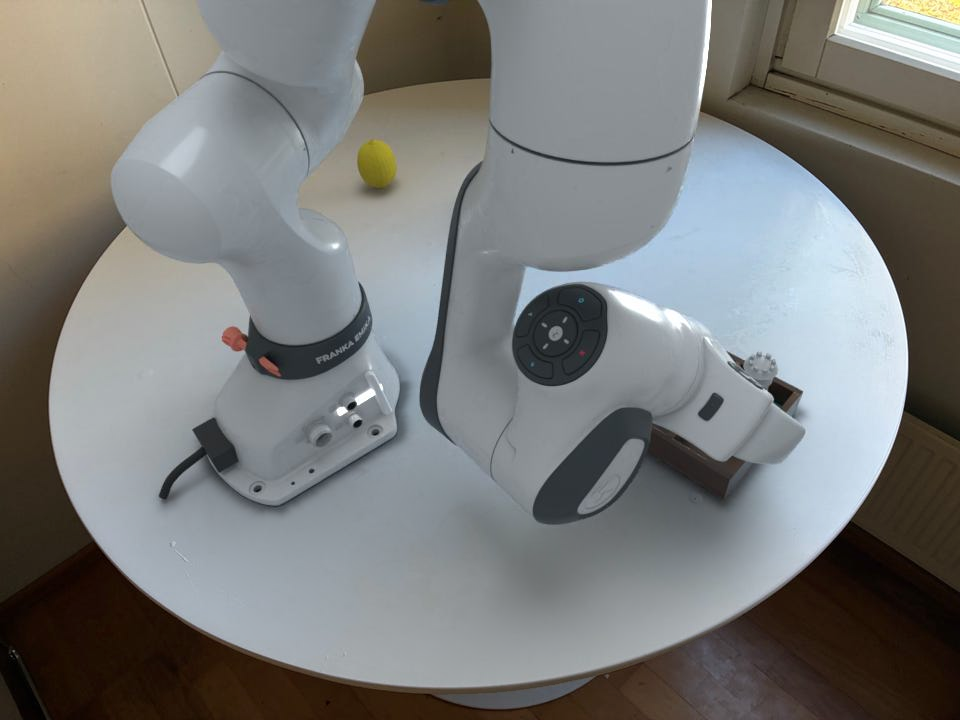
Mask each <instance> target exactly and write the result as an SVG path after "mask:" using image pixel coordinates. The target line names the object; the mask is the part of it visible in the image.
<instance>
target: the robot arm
mask: <svg viewBox="0 0 960 720" xmlns="http://www.w3.org/2000/svg"><path fill="white" fill-rule="evenodd" d="M418 1H419V2H421V3H425V4H428V5H430V6H431V5H432V6H442V5H444V4H448V3H449V2H451V1H453V0H418ZM476 1H477V3H478V4H479V6H480V7H481V10H482V11H483V14H484V17H485V19H486V22H487V26H488V30H489V37H490V54H491V55H490V57H491V61H490V63H491V64H490V65H491V66H490V81H489V99H488V100H489V102H488V127H487V138H486V145H485V152H484V155H483V159H482V160H481V161H480V162H478V163H477V164H476V165H475V166H473V167H472V169H470V171H469V172H468V174H467V175H466V177H465V178H464V180H463V181H462V183H461V185H460V187H459V190H458V192H457V195H456V198H455V202H454V206H453V209H452V213H451V218H450V223H449V231H448V237H447V243H446V250H445V259H444V265H443V275H442V281H441V282H442V283H441V289H440V290H441V291H440V296H439V297H440V298H439V306H438V312H437V313H438V314H437V321H436V329H435V334H434V339H433V343H432V346H431V349H430V352H429V355H428V357H427V359H426V363H425V365H424V368H423V371H422V375H421V379H420V385H419V397H418V399H419V408H420V411H421V414H422V416H423V419H424V420H425V421H426V422H427V424H428V425H429V426H430V427H432V428H433V429H435V430H436V431H437V432H438V433H439V434H441V435H442V436H443V437H445V438H446V439H447V440H448V441H450V442H451V443H452V444H453V445H455V446H457V447H458V448H459V450H460V451H462V452H463V453H464V454H465V455H466V456H467V457H468V458H469V459H470V460H471V461H472V462H474V464H476V465H477V467H479V469H480V470H481V471H482V472H484V473H485V474H486V475H487V476H488V477H489V478H490V479H491V480H492V481H493V482H494V483H495V484H496V485H497V486H499V487H500V488H501V489H502V490H503V491H504V492H505V493H506V494H507V495H508V496H509V497H510V498H511V499H512V500H514V502H515V503H517V504H518V505H519V506H520V507H521V508H522V510H524V511H525V512H526V513H527V514H529V515H530V516H531V517H533V519H534V520H535V521H536V522H537V523H539V524H541V525H552V526H553V525H554V526H561V525H568V524H572V523H575V522H580V521H582V520H585V519H589V518H592V517H594V516H596V515H598V514H600V513H602V512H604V511H606V510H607V509H608V508H609V507H611V506H612V505H613V504H615V503H616V502H617V501H618V500H619V499H620V497H622V495H623V494H625V491H626V490H627V489H628V488H629V486H630V485H631V484H632V483H633V481H634V479H635V478H636V477H637V474H638V473H639V471H640V469H641V467H642V464H643V463H644V461H645V459H646V456H647V453H648V452H647V451H648V448H649V443H650V437H651V432H652V423H654V424H656V425H659V426H661V427H664V428H666V429H668V430H670V431H672V432H674V433H675V434H676V435H678V436H679V437H681V438H682V439H684V440H686V441H687V442H689V443H690V444H692V445H693V446H694V447H696V448H697V449H699V450H700V451H702V452H703V453H706V454H707V455H708V456H710V457H711V458H713V459H715V460H717V461H723V462H724V461H727V460H728V459H729V458H730V457H731V456H734V457H736V458H739V459H741V460H744V461H747V462H751V463H754V464H759V465H760V464H762V465H779V464H782V463H783V462H785V460H786V459H787V458H788V457H789V456H790V455H791V454H792V453H793V451H794V450H795V449H796V448H797V447H798V445H799V444H800V443H801V441H802V440H803V438H804V437H805V435H806V428H805V427H804V426H803V424H802V423H800V422H799V421H798V420H797V419H795V418H794V417H793V416H792V417H791V416H790V415H788V414H787V413H785V412H784V411H783V410H781V409H780V408H779V407H777V406H776V405H775V404H774V403H773V401H774V398H773V396H772V395H771V394H770V393H769V392H767V391H766V390H765V389H764V388H763V386H761V385H760V384H759V383H758V382H757V381H755V380H754V379H753V378H752V377H751V376H749V375H748V374H747V373H746V372H745V371H744V370H743V369H742V368H741V367H740V366H739V365H737V364H736V363H735V362H734V361H733V359H732V358H731V357H730V356H729V354H728V353H727V352H726V351H727V349H725V348H724V347H723V345H722V344H721V343H720V342H719V341H717V338H715V336H714V334H713V333H712V331H711V330H710V329H709V328H708V327H707V325H705V324H703V323H702V322H701V321H700V320H697V319H696V318H694V317H691V316H689V315H686V314H684V313H682V312H679V311H677V310H675V309H673V308H671V307H668V306H665V305H662V304H657V303H654V302H653V301H651V300H649V299H648V298H646V297H645V296H642V295H640V294H637V293H635V292H632V291H629V290H627V289H624V288H621V287H617V286H614V285H609V284H606V283H598V282H593V281H571V282H566V283H562V284H559V285H555V286H553V287H550V288H548V289H545V290H544V291H542V292H541V293H539V294H538V295H536V296H534V297H533V298H532V299H531V300H530V301H529V302H528V303H527V305H526V306H525V307H524V308H523V310H521V313H520V314H519V316H518V317H517V319H516V314H517V310H518V307H519V301H520V297H521V293H522V287H523V284H524V279H525V274H526V271H527V268H532V269H535V270H538V271H545V272H554V273H556V272H557V273H566V272H580V271H586V270H593V269H596V268H600V267H604V266H607V265H611V264H614V263H616V262H619V261H622V260H623V259H626V258H627V257H629V256H632V255H633V254H635V253H637V252H638V251H639V250H641V249H642V248H644V247H645V246H646V245H648V244H649V243H650V242H651V241H652V240H653V239H654V238H656V236H657V235H658V234H659V233H661V231H662V230H663V229H664V228H665V227H666V226H667V225H668V222H669V221H670V219H671V218H672V216H673V214H674V212H675V209H676V207H677V206H678V205H677V204H678V202H679V200H680V197H681V195H682V193H683V189H684V187H685V183H686V179H687V175H688V172H689V170H688V169H689V166H690V163H691V156H692V152H693V147H694V142H695V136H696V130H697V127H698V123H699V116H700V112H701V105H702V100H703V95H704V94H703V93H704V87H705V81H706V74H707V73H706V71H707V66H708V56H709V55H708V54H709V46H710V34H711V19H712V0H476ZM376 2H377V0H196V3H197V8H198V11H199V15H200V17H201V19H202V22H203V24H204V25H205V27H206V29H207V30H208V31H209V33H210V34H211V36H212V37H213V39H214V41H215V42H216V43H217V44H218V46H219V47H220V49H222V50H221V52H220V54H219V55H218V57H217V58H216V59H215V61H214V62H213V64H212V65H211V66H210V67H209V69H208V70H207V71H206V73H204V74H203V75H202V76H201V77H200V78H199V79H198V80H197V81H196V82H194V83H193V84H192V85H190V87H188V88H187V89H186V90H185V91H183V92H182V93H181V94H180V95H178V96H177V97H176V98H174V99H173V100H172V101H171V102H169V103H168V104H167V105H166V106H164V107H163V108H162V109H160V110H159V111H158V112H157V113H155V115H153V116H152V117H151V118H150V119H148V120H147V121H146V122H145V123H144V124H143V126H142V127H141V128H140V130H139V131H138V132H137V133H136V135H135V136H134V138H133V139H132V140H131V141H130V142H129V144H128V145H127V147H126V148H125V150H124V151H123V153H122V154H121V155H120V156H119V158H118V159H117V161H116V162H115V164H114V165H113V168H111V169H112V170H111V173H110V189H111V193H112V197H113V200H114V204H115V206H116V209H117V211H118V213H119V215H120V217H121V219H122V220H123V222H124V224H125V225H126V226H127V227H128V229H129V230H130V232H131V233H132V234H133V235H134V236H135V237H136V238H137V239H138V240H139V241H141V242H142V243H143V244H144V245H146V246H147V247H149V248H150V249H151V250H153V251H154V252H156V253H158V254H160V255H162V256H164V257H166V258H168V259H172V260H174V261H178V262H181V263H182V262H183V263H188V264H196V265H203V264H205V265H206V264H216V265H219V266H220V267H222V268H223V269H224V270H225V272H227V273H228V274H229V277H230V278H231V279H232V281H233V283H234V285H235V287H236V288H237V290H238V292H239V295H240V296H241V299H242V301H243V303H244V305H245V307H246V309H247V312H248V314H249V319H248V330H247V334H246V333H243V332H242V331H241V329H240V328H238V327H237V326H228V327H227V328H226V329H225V330H223V332H222V336H221V339H222V340H221V342H222V343H223V344H225V345H226V346H227V347H230V349H231V350H232V351H234V352H241V351H243V352H244V354H243V355H242V357H241V358H240V360H239V361H238V363H237V365H236V366H235V368H234V369H233V371H232V373H231V374H230V375H229V377H228V378H227V380H226V381H225V383H224V385H223V386H222V387H221V389H220V390H219V392H218V394H217V395H216V397H215V400H214V406H213V411H214V416H212V417H211V418H210V419H208V420H206V421H205V422H203V423H201V424H199V425H197V426H195V427H194V428H192V429H191V430H192V432H193V434H194V436H195V437H196V440H197V441H198V442H199V444H200V446H201V447H200V448H198V449H197V450H196V451H195V452H193V453H192V454H191V455H189V456H188V457H186V458H185V459H183V461H181V462H180V463H179V464H178V465H176V466H175V467H174V468H173V469H172V470H171V471H170V473H168V475H167V476H166V477H165V480H164V481H163V483H162V485H161V487H160V491H159V494H158V497H159V499H161V500H167V499H168V497H169V495H170V492H171V490H172V487H173V485H174V484H175V483H176V481H177V480H178V479H179V478H180V477H181V476H182V475H183V474H184V473H185V472H186V471H188V470H189V469H190V468H191V467H192V466H193V465H195V464H196V463H198V462H199V461H200V460H201V459H203V458H204V457H205V456H207V459H208V461H209V463H210V464H211V466H212V467H213V469H214V471H215V472H216V473H217V475H218V476H219V477H220V478H221V479H222V480H223V481H224V482H225V484H227V485H229V486H230V487H231V488H232V489H233V490H234V491H235V492H238V493H239V494H240V495H241V496H243V497H244V498H246V499H248V500H250V501H253V502H255V503H257V504H261V505H265V506H273V507H277V506H281V505H283V504H285V503H287V502H289V501H290V500H292V499H294V498H295V497H296V496H299V495H300V494H302V493H303V492H305V491H307V490H308V489H310V488H312V487H313V486H315V485H317V484H318V483H320V482H322V481H323V480H325V479H327V478H328V477H330V476H332V475H334V474H335V473H337V472H338V471H340V470H342V469H343V468H345V467H347V466H348V465H350V464H351V463H353V462H355V461H357V460H358V459H360V458H361V457H363V456H365V455H366V454H368V453H370V452H372V451H374V450H375V449H376V448H378V447H380V446H382V445H383V444H385V443H387V442H388V441H390V440H391V439H393V438H394V437H395V436H396V434H397V431H398V422H397V418H396V407H397V404H398V401H399V397H400V391H401V385H400V378H399V375H398V372H397V370H396V368H395V367H394V365H393V364H392V363H391V362H390V360H389V359H388V358H387V356H386V355H385V353H384V351H383V350H382V348H381V345H380V344H379V341H378V339H377V337H376V335H375V333H374V329H373V315H372V314H373V313H372V311H371V308H370V303H369V299H368V297H367V294H366V291H365V288H364V287H363V285H362V283H361V282H360V281H359V280H358V274H357V272H356V268H355V265H354V264H355V263H354V261H353V260H354V259H353V256H352V253H351V250H350V249H351V248H350V246H349V241H348V238H347V235H346V234H345V232H344V230H343V229H342V228H341V226H339V225H338V224H337V223H336V222H335V221H334V220H332V219H331V218H330V217H328V216H327V215H325V214H323V213H322V212H319V211H317V210H314V209H310V208H306V207H299V202H298V199H299V193H300V188H301V186H302V185H303V184H304V182H305V181H306V180H307V179H308V178H309V177H310V176H311V175H312V174H313V173H314V171H315V170H316V169H317V168H318V167H319V166H320V165H321V164H322V163H323V162H324V161H325V160H326V158H327V157H329V156H330V154H331V153H332V152H333V151H334V150H335V149H336V148H337V147H338V145H340V143H341V142H342V140H343V139H344V137H345V136H346V134H347V132H348V130H349V129H350V127H351V125H352V123H353V122H354V119H355V118H356V116H357V113H358V111H359V109H360V107H361V105H362V102H363V100H364V99H363V98H364V94H365V83H364V77H363V73H362V69H361V67H360V65H359V62H358V60H357V55H358V52H359V48H360V46H361V43H362V41H363V38H364V36H365V32H366V30H367V28H368V24H369V22H370V19H371V16H372V13H373V10H374V8H375V5H376ZM515 319H516V322H515ZM375 434H376V435H375ZM258 490H260V491H258ZM257 491H258V492H257Z"/></svg>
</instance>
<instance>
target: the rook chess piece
mask: <svg viewBox="0 0 960 720" xmlns="http://www.w3.org/2000/svg"><path fill="white" fill-rule="evenodd" d="M772 357H773V354H770V353H769V352H767V353H766V355H764V354H763V351H757V352H756V353H755V354H754V353H751V354H750V356H749V357H747V358H746V359H744V360H745V361H744V365H743V367H744V370H745V372H746V373H747V374H748V375H749V376H751V377H752V378H753V379H754V380H755V381H757V382H758V383H759V384H760V385H761V386H763V388H764V389H765V390H766V391H767V392H768V386H770V384H771V383H772V380H773V379H772V378H774V377H777V375H778V373H779V368H778V365H777V360H776V359H775V358H772Z"/></svg>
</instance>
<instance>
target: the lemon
mask: <svg viewBox="0 0 960 720" xmlns="http://www.w3.org/2000/svg"><path fill="white" fill-rule="evenodd" d="M356 163H357V164H356V165H357V169H358V174H359V175H360V177H361V179H362V180H363V182H364V183H366V184H367V185H368V186H370V187H373V188H377V189H383V188H385V187H387V186H388V185H390V184H391V183H392V182H393V180H394V179H395V177H396V173H397V160H396V157H395V155H394V152H393V150H392V148H391V147H390V146H389V145H388V144H387V143H386V142H385V141H383V140H380V139H369V140H367V141H365V142H364V143H363V144H362V145H361V146H360V148H359V150H358V151H357V158H356Z"/></svg>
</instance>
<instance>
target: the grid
mask: <svg viewBox="0 0 960 720" xmlns="http://www.w3.org/2000/svg"><path fill="white" fill-rule="evenodd" d="M726 352H727V353H728V354H729V356H730V357H731V358H732V359H733V361H734V362H735V363H736V364H737V365H739V366H740V367H741V368H742V369H743V370H744V367H743V365H744V361H745V360H746V359H743V358H741V357H740V356H738V355H735V354H734V353H731V352H730V351H728V350H726ZM744 371H745V370H744ZM772 379H773V380H772V383H771V384H770V386H768V392H769V393H770V394H771V395H772V396H773V398H774V401H773V403H774V404H775V405H776V406H777V407H779V408H780V409H781V410H783V411H784V412H785V413H787V414H788V415H790V416H791V417H792V418H793V416H794V415H795V414H796V413H797V410H798V407H799V404H800V402H801V399H802V396H803V394H804V390H802V389H800V388H798V387H796V386H794V385H793V384H790V383H789V382H787V381H785V380H783V379H781V378H779V377H777V376H775V377H774V378H772ZM647 453H649V454H650V455H652V456H653V457H655V458H657V460H659V461H661V462H663V463H665V465H668V466H669V467H670V468H672V469H674V470H675V471H677V472H678V473H680V474H681V475H683V476H684V477H686V478H688V479H689V480H691V482H692V481H693V482H694V483H695V484H697V485H698V486H700V487H702V488H704V489H705V490H707V491H708V492H710V493H711V494H713V495H715V496H716V497H718V498H719V499H721V500H722V501H725V499H726V498H727V497H728V496H729V495H730V493H732V491H733V489H734V488H735V487H736V486H737V485H738V484H739V482H741V480H742V478H744V476H746V474H747V473H748V472H749V470H750V469H751V468H752V467H753V466H754V464H755V463H751V462H747V461H744V460H741V459H739V458H736V457H734V456H731V457H730V458H729V459H728V460H727V461H724V462H723V461H717V460H715V459H713V458H711V457H710V456H708V455H707V454H706V453H703V452H702V451H700V450H699V449H697V448H696V447H694V446H693V445H692V444H690V443H689V442H687V441H686V440H684V439H682V438H681V437H679V436H678V435H676V434H675V433H674V432H672V431H670V430H668V429H666V428H664V427H661V426H659V425H656V424H654V423H652V432H651V437H650V443H649V448H648V451H647Z"/></svg>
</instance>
